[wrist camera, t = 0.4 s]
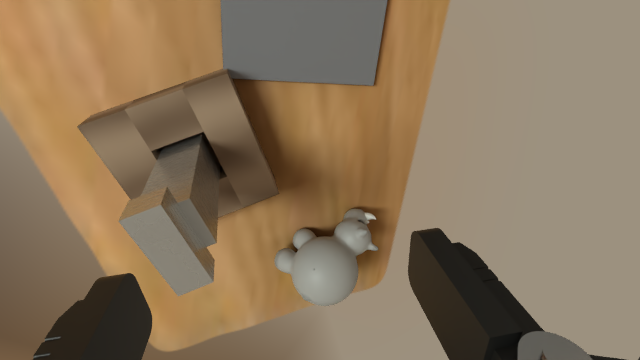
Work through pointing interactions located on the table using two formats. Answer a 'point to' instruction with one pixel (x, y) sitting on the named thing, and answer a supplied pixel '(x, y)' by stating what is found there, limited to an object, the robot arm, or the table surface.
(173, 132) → the block
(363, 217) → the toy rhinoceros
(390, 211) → the table surface
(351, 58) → the mat
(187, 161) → the t key
